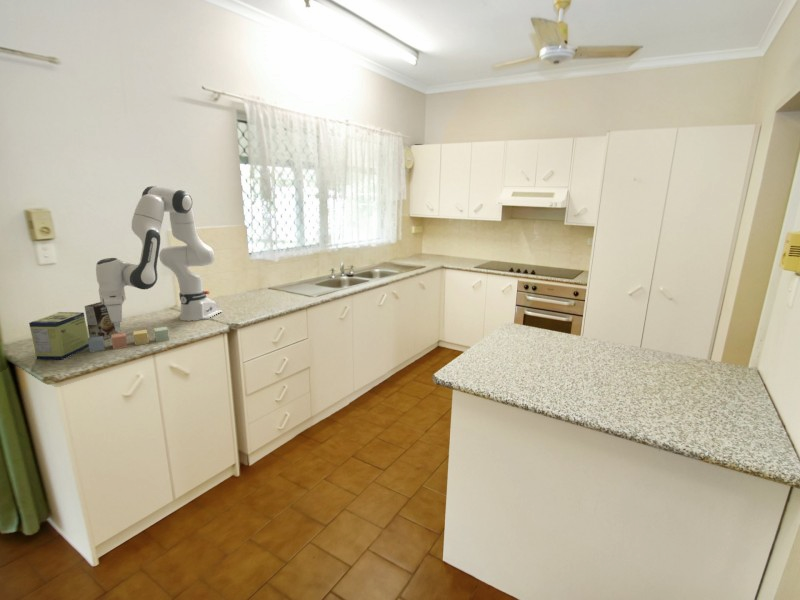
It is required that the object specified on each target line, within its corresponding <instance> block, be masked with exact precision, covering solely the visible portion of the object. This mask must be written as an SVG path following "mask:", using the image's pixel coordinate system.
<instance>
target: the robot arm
mask: <svg viewBox="0 0 800 600" xmlns="http://www.w3.org/2000/svg"><path fill="white" fill-rule="evenodd" d="M165 212H169V221H170V222H169V223H170V228H171V235H172V236H173V237H174V238H175V239H176V240H178V241H180V242H183V243H185V244H186V245H171V246H167V247H162V249H161V250H160V246H161V228H162V224H163V220H164V216H165ZM131 231H132V232H133V233H134V235H136V237H138V238H139V239H140V241H141V244H142V249H141V253H140V259H139V263H138V264H136V263H135V264H133V263H130V262H129V263H128V262H125V261H122V260H120V259H118V258H116V257H110V258H103V259H100V260H99V261H97V263H96V265H95V276H96V280H97V283H98V294H99V295H98V296H99V302H102V303H104V305H105V306H106V307H107V310H108V313H109V317H110V320H111V322H112V323H114V326H115V331H117V332H120V331H121V322H123V304H124V302H125V301H126V300H127V299H126V293H125V287H126V286H128V287H133V288H136V289H140V290H148V289H151V288H153V287H154V286H155V285H156V283H157V281H158V269H157V265H158V259H159V260H160V263H161V264H162V265H163V266H164V267H167V268H168V269H169V270H171V271H172V272H173V273H174V275H175V277H176V279H177V282H178V286H179V288H178V289H179V294H178V295H179V301H180V314H179V320H181V321H185V320H187V322H189V321H191V320H193V321H200V320H199V319H202V320H209V319H211V318H213V317H215V316H217V315H219V314H218V313H220V312H222V313H223V310H222V309H219V308H218V305H217V303H216V301H214V300H212V299H211V298H209V297H208V296H207V295H210V290H204V287H203V279H202V276H201V275H199V274H198V273H196V272H194V271H191V270H189V269H188V268H190V267H191V268H192V267H203V266H208V265H212V264H213V263H214V261H215V258H216V256H215V251H214V250H213V248H212V247H211V246H209V245H208V244H205V243H204V241H202V239H201V238H200V237H199V234H198V230H197V225H196V219H195V214H194V209H193V199H192V196H191V194H189V192H186V191H185V190H182V189H176V188H173V187H172V188H171V187H166V186H165V187H163V186H156V185H155V186H154V185H151V186H147V187H145V188H144V190H143V192H142V193H141V198H140V199H139V201H138V202H137V204H136V206H135V209H134V213H133V216H132V219H131ZM216 314H217V315H216ZM220 314H221V313H220ZM214 315H215V316H214ZM212 316H213V317H212ZM210 317H211V318H210Z"/></svg>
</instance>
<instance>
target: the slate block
mask: <svg viewBox="0 0 800 600" xmlns="http://www.w3.org/2000/svg"><path fill="white" fill-rule="evenodd" d="M88 344H89V347H88V350H89V353H94V352H93V351H96V352H100V351H99V350H103V351H105V350H106V348H105V346H106V345H105V340H103V336H99V337H92V338H90V337H88Z"/></svg>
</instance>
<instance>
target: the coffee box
mask: <svg viewBox="0 0 800 600" xmlns="http://www.w3.org/2000/svg"><path fill="white" fill-rule="evenodd" d="M84 311H85V316H86V317H85V320H86V323H87V324H86V326H87V332H88V338H92V337H99V336H103V340H104V339H105V340H108V339H110V337H111V335H113V334H119V333H118V332H119V331H115V326H114V323H112V322H111V320H110V317H109V313H108V310H107V307H106V306H105V305H104V303H102V302H100V301H98V302H95V303H91V304H87V305H84ZM107 338H108V339H107ZM111 338H112V337H111ZM105 340H104V341H105Z"/></svg>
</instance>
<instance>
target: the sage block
mask: <svg viewBox="0 0 800 600" xmlns="http://www.w3.org/2000/svg"><path fill="white" fill-rule="evenodd" d="M153 331H154V339H155V342H157V341H158V342H164V341H163V340H165V341H169V340H170V337H169V330H168V327H167V326H163V327H155V328H153Z"/></svg>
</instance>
